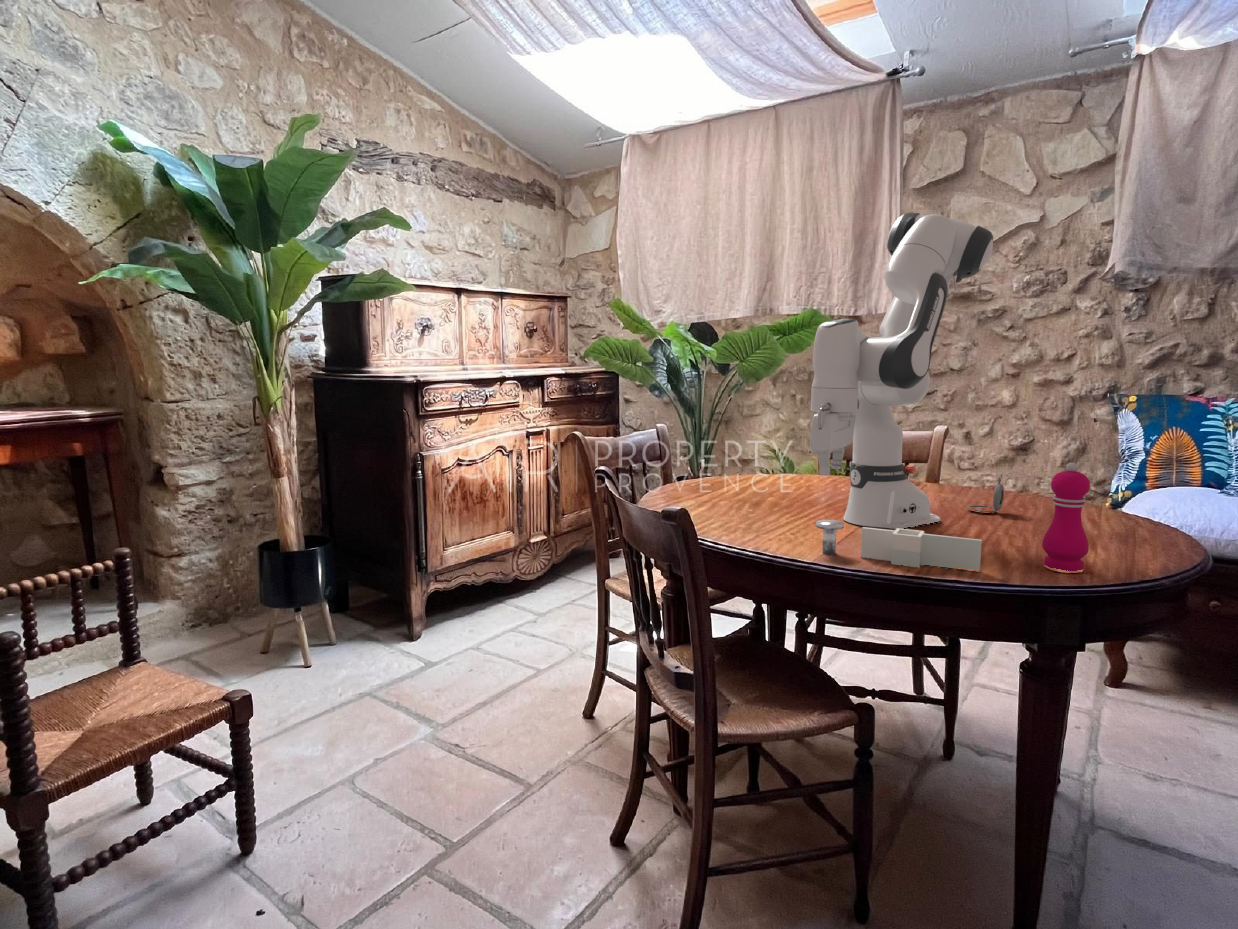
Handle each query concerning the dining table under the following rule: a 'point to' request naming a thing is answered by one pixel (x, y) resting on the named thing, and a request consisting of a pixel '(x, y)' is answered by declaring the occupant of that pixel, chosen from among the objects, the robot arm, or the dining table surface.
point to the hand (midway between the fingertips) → (830, 471)
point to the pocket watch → (995, 498)
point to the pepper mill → (1067, 521)
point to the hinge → (920, 548)
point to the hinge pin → (829, 534)
